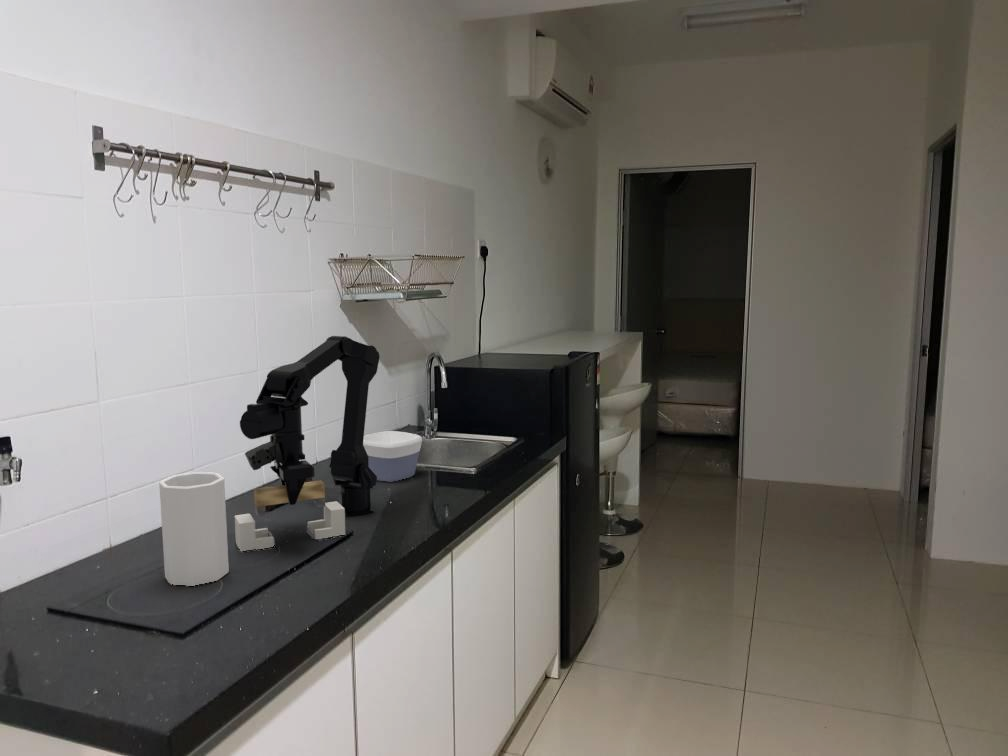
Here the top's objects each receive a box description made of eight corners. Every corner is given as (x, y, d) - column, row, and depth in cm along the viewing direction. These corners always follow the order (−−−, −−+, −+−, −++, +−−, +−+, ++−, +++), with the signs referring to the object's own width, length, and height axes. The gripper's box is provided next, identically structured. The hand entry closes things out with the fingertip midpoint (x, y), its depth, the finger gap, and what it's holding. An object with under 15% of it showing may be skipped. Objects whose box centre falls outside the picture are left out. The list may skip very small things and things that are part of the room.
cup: (190, 592, 136) (184, 491, 133) (151, 579, 142) (145, 481, 139) (241, 571, 145) (237, 476, 143) (203, 560, 151) (198, 468, 149)
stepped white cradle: (337, 526, 171) (336, 500, 170) (345, 536, 165) (345, 509, 164) (235, 542, 161) (234, 515, 160) (241, 553, 155) (239, 524, 154)
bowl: (390, 466, 224) (389, 429, 223) (430, 474, 215) (429, 435, 214) (350, 477, 212) (349, 438, 210) (391, 487, 203) (390, 445, 201)
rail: (321, 502, 167) (320, 480, 166) (325, 506, 164) (324, 483, 163) (255, 512, 160) (253, 488, 160) (257, 516, 158) (256, 492, 157)
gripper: (239, 425, 164) (243, 496, 166) (256, 442, 148) (259, 521, 150) (292, 420, 169) (295, 489, 172) (313, 436, 153) (316, 512, 155)
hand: (290, 502), depth 162 cm, fingers closed on rail, 3 cm apart
